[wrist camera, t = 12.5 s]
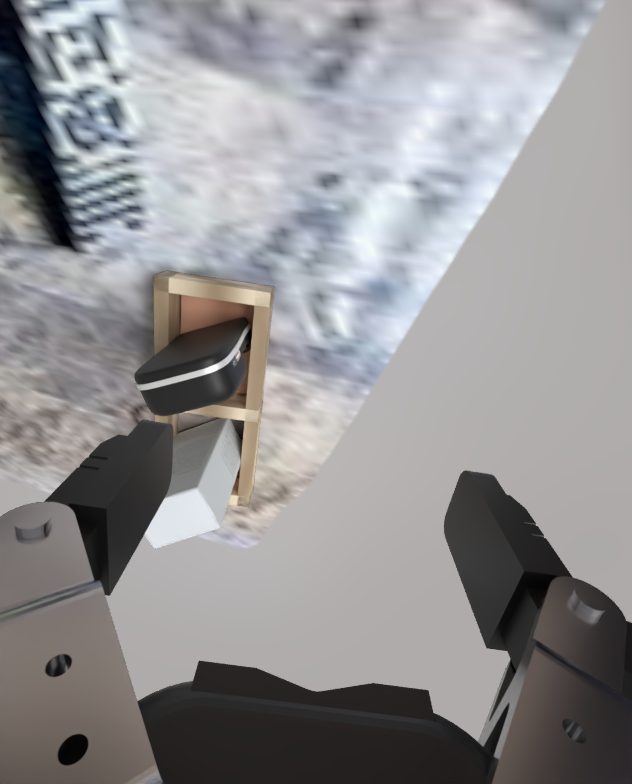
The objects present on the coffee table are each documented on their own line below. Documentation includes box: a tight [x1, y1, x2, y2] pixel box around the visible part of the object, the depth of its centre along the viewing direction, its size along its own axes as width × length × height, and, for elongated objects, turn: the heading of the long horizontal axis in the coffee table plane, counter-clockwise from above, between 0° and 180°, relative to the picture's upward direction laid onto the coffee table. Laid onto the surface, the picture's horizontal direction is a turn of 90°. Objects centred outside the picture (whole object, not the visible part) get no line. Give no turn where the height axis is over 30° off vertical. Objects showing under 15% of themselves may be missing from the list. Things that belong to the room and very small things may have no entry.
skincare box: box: [144, 418, 243, 549], centre depth 37 cm, size 6×4×12 cm
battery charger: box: [134, 317, 252, 416], centre depth 33 cm, size 7×4×11 cm, turn 105°
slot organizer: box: [154, 271, 275, 507], centre depth 39 cm, size 9×22×3 cm, turn 172°
